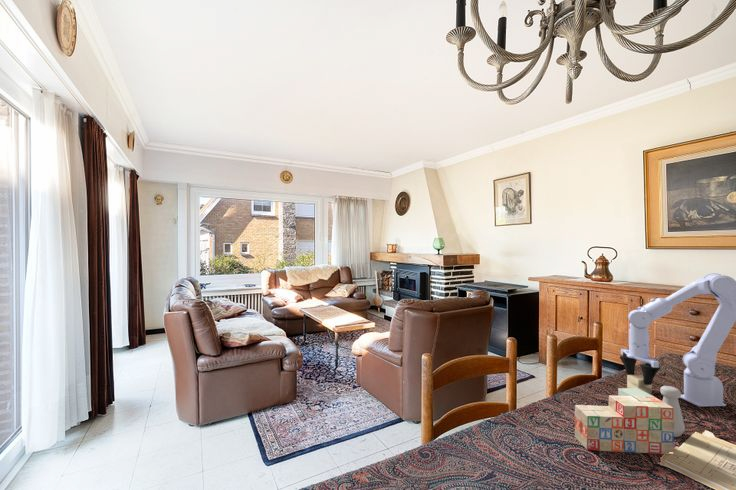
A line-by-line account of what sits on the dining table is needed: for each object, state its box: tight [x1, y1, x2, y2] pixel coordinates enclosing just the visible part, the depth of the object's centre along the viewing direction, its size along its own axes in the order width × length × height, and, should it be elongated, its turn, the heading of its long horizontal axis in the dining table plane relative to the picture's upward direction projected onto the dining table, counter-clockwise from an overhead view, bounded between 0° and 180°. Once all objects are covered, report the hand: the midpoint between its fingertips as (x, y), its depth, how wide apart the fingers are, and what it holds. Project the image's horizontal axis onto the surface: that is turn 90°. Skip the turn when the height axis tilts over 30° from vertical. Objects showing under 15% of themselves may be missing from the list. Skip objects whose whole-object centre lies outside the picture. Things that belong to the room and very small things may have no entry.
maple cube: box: [626, 374, 653, 395], centre depth 123 cm, size 5×5×5 cm
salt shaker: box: [659, 385, 686, 438], centre depth 95 cm, size 6×6×13 cm
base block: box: [617, 387, 655, 397], centre depth 114 cm, size 7×7×3 cm
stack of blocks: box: [574, 394, 675, 455], centre depth 90 cm, size 21×6×12 cm, turn 85°
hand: (638, 380), depth 123 cm, fingers open, 7 cm apart
